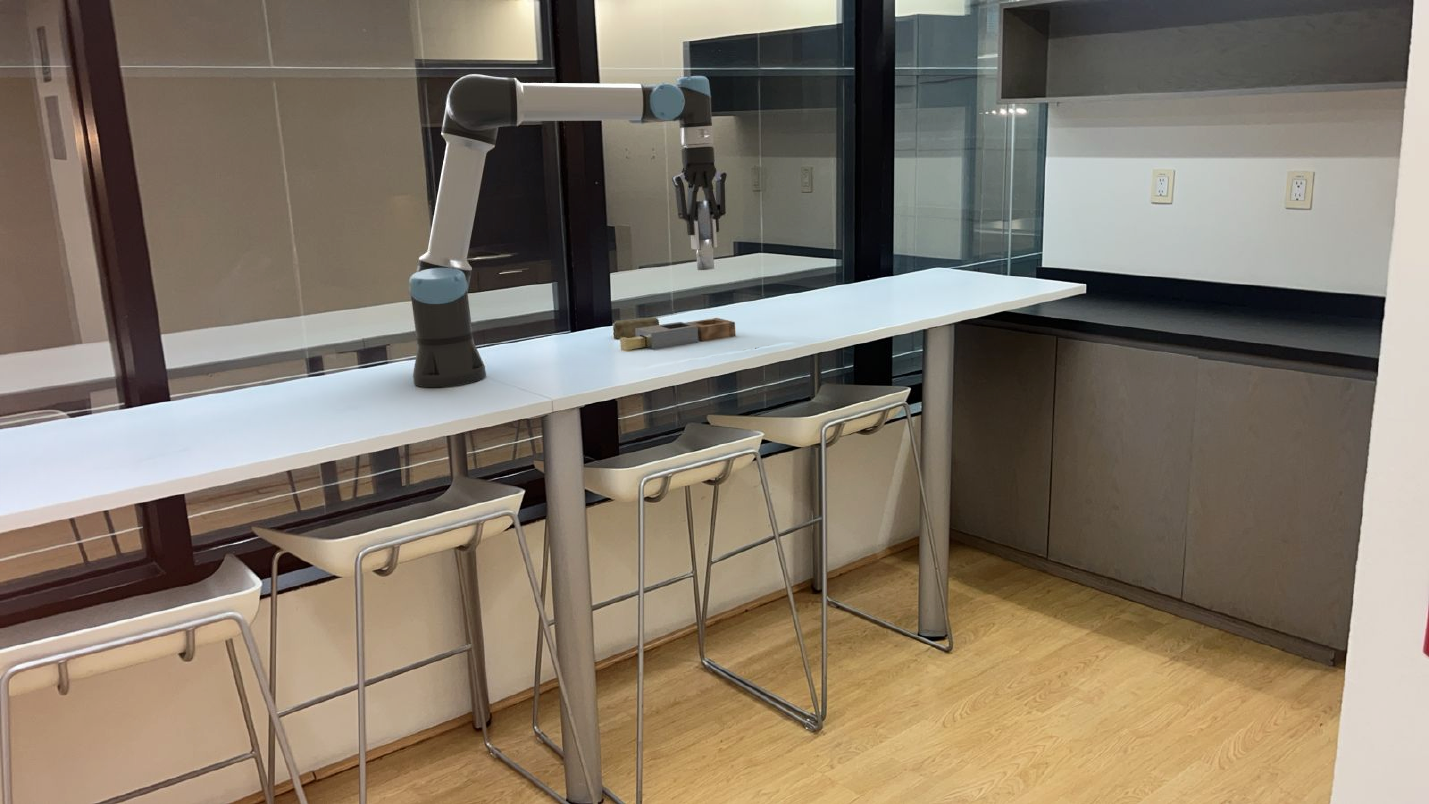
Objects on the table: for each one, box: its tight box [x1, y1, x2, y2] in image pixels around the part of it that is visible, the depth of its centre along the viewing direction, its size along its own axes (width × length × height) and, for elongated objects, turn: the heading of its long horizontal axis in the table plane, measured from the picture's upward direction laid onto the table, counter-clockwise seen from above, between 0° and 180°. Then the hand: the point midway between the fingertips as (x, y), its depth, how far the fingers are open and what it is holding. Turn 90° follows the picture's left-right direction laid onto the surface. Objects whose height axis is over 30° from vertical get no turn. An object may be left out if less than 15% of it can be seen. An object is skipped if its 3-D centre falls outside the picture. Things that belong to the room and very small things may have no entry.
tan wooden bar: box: [619, 336, 647, 352], centre depth 246 cm, size 9×3×3 cm, turn 118°
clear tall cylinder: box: [694, 199, 715, 271], centre depth 249 cm, size 4×4×16 cm
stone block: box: [612, 316, 660, 340], centre depth 262 cm, size 6×12×5 cm, turn 99°
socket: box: [635, 321, 700, 351], centre depth 249 cm, size 12×9×4 cm
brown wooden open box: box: [685, 317, 736, 342], centre depth 254 cm, size 9×9×4 cm
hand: (704, 247), depth 250 cm, fingers closed on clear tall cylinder, 4 cm apart
